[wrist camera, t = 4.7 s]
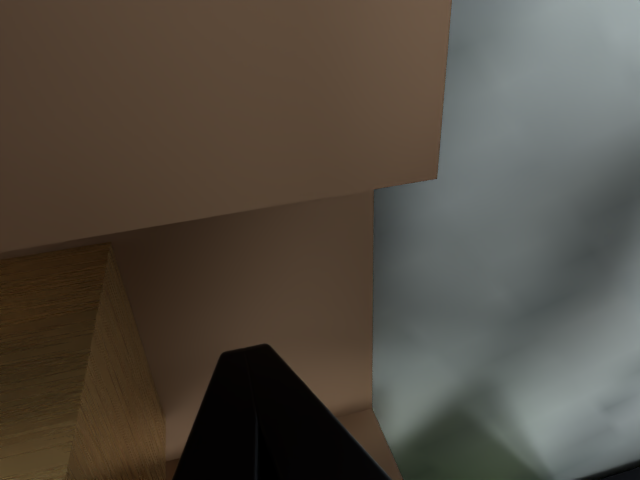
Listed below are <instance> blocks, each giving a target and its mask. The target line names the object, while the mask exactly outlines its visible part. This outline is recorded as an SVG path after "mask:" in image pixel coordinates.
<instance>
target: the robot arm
mask: <svg viewBox="0 0 640 480" xmlns="http://www.w3.org/2000/svg"><path fill="white" fill-rule="evenodd" d="M172 480H392V479H391V478H390V476H389V475H388V474H387V473H386V472H385V471H384V470H383V469H382V468H381V467H380V465H379V464H378V463H377V462H376V461H375V460H374V459H373V458H372V457H371V456H370V454H369V453H368V452H367V451H366V450H365V449H364V448H363V447H362V446H361V445H360V443H359V442H358V441H357V440H356V439H355V438H354V437H353V436H352V435H351V434H350V432H349V431H348V430H347V429H346V428H345V427H344V426H343V425H342V424H341V423H340V421H339V420H338V419H337V418H336V417H335V416H334V415H333V414H332V413H331V412H330V410H329V409H328V408H327V407H326V406H325V405H324V404H323V403H322V402H321V401H320V399H319V398H318V397H317V396H316V395H315V394H314V393H313V392H312V391H311V390H310V388H309V387H308V386H307V385H306V384H305V383H304V382H303V381H302V380H301V379H300V377H299V376H298V375H297V374H296V373H295V372H294V371H293V370H292V369H291V367H290V366H289V365H288V364H287V363H286V362H285V361H284V360H283V359H282V358H281V356H280V355H279V354H278V353H277V352H276V351H275V350H274V349H273V348H272V347H271V346H270V345H269V344H267V343H263V344H258V345H254V346H249V347H245V348H239V349H235V350H230V351H225V352H223V353H222V354H221V355H220V356H219V359H218V361H217V364H216V366H215V369H214V372H213V374H212V377H211V379H210V382H209V384H208V387H207V390H206V392H205V395H204V397H203V400H202V403H201V405H200V408H199V410H198V413H197V415H196V418H195V421H194V423H193V426H192V428H191V431H190V434H189V436H188V439H187V441H186V444H185V446H184V449H183V452H182V454H181V457H180V459H179V462H178V465H177V467H176V470H175V472H174V475H173V477H172ZM601 480H640V467H639V468H635V469H632V470H629V471H626V472H623V473H620V474H616V475H613V476H610V477H607V478H604V479H601Z"/></svg>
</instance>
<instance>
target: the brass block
mask: <svg viewBox="0 0 640 480" xmlns="http://www.w3.org/2000/svg"><path fill="white" fill-rule="evenodd" d="M165 478H166V418H165V415H164V412H163V408H162V405H161V402H160V399H159V395H158V392H157V389H156V386H155V383H154V379H153V376H152V373H151V370H150V367H149V363H148V360H147V357H146V354H145V351H144V347H143V344H142V341H141V338H140V334H139V331H138V328H137V325H136V322H135V318H134V315H133V312H132V309H131V306H130V302H129V299H128V296H127V293H126V290H125V286H124V283H123V280H122V277H121V274H120V270H119V267H118V264H117V261H116V257H115V254H114V251H113V248H112V245H111V242H107V243H101V244H95V245H88V246H82V247H76V248H69V249H63V250H57V251H51V252H44V253H38V254H32V255H26V256H19V257H13V258H7V259H1V260H0V480H165Z"/></svg>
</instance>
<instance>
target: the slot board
mask: <svg viewBox="0 0 640 480" xmlns="http://www.w3.org/2000/svg"><path fill="white" fill-rule="evenodd" d="M451 4H452V0H0V260H1V259H7V258H13V257H19V256H26V255H32V254H38V253H44V252H51V251H57V250H63V249H69V248H76V247H82V246H88V245H95V244H101V243H107V242H111V245H112V248H113V251H114V254H115V257H116V261H117V264H118V267H119V270H120V274H121V277H122V280H123V283H124V286H125V290H126V293H127V296H128V299H129V302H130V306H131V309H132V312H133V315H134V318H135V322H136V325H137V328H138V331H139V334H140V338H141V341H142V344H143V347H144V351H145V354H146V357H147V360H148V363H149V367H150V370H151V373H152V376H153V379H154V383H155V386H156V389H157V392H158V395H159V399H160V402H161V405H162V408H163V412H164V415H165V418H166V478H165V480H172V477H173V475H174V472H175V470H176V467H177V465H178V462H179V459H180V457H181V454H182V452H183V449H184V446H185V444H186V441H187V439H188V436H189V434H190V431H191V428H192V426H193V423H194V421H195V418H196V415H197V413H198V410H199V408H200V405H201V403H202V400H203V397H204V395H205V392H206V390H207V387H208V384H209V382H210V379H211V377H212V374H213V372H214V369H215V366H216V364H217V361H218V359H219V356H220V355H221V354H222V353H223V352H225V351H230V350H235V349H239V348H245V347H249V346H254V345H258V344H263V343H267V344H269V345H270V346H271V347H272V348H273V349H274V350H275V351H276V352H277V353H278V354H279V355H280V356H281V358H282V359H283V360H284V361H285V362H286V363H287V364H288V365H289V366H290V367H291V369H292V370H293V371H294V372H295V373H296V374H297V375H298V376H299V377H300V379H301V380H302V381H303V382H304V383H305V384H306V385H307V386H308V387H309V388H310V390H311V391H312V392H313V393H314V394H315V395H316V396H317V397H318V398H319V399H320V401H321V402H322V403H323V404H324V405H325V406H326V407H327V408H328V409H329V410H330V412H331V413H332V414H333V415H334V416H335V417H336V418H337V419H338V420H339V421H340V423H341V424H342V425H343V426H344V427H345V428H346V429H347V430H348V431H349V432H350V434H351V435H352V436H353V437H354V438H355V439H356V440H357V441H358V442H359V443H360V445H361V446H362V447H363V448H364V449H365V450H366V451H367V452H368V453H369V454H370V456H371V457H372V458H373V459H374V460H375V461H376V462H377V463H378V464H379V465H380V467H381V468H382V469H383V470H384V471H385V472H386V473H387V474H388V475H389V476H390V478H391V479H392V480H403V478H402V476H401V473H400V471H399V469H398V466H397V464H396V462H395V460H394V457H393V455H392V453H391V450H390V448H389V446H388V444H387V441H386V439H385V437H384V434H383V432H382V430H381V428H380V425H379V423H378V421H377V419H376V416H375V414H374V412H373V409H372V350H373V215H374V189H379V188H385V187H391V186H397V185H403V184H409V183H415V182H421V181H426V180H432V179H437V174H438V162H439V150H440V137H441V125H442V113H443V101H444V89H445V77H446V65H447V53H448V40H449V28H450V16H451Z"/></svg>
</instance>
